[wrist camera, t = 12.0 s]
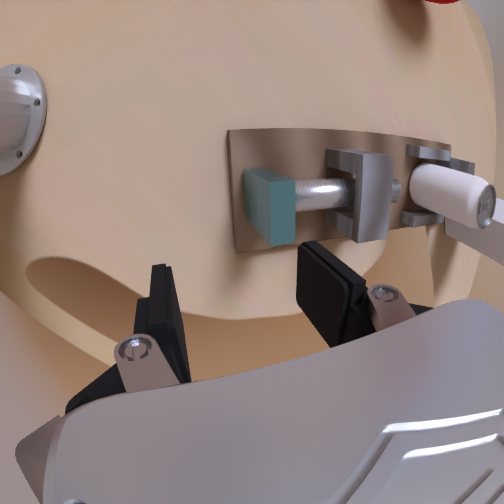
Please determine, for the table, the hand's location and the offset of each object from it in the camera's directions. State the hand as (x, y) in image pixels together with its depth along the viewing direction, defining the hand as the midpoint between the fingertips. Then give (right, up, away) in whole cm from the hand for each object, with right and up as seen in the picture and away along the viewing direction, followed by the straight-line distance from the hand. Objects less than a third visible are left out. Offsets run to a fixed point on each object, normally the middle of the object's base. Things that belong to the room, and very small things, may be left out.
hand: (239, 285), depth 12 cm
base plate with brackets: (+15, +10, +21) cm, 28 cm away
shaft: (+8, +8, +18) cm, 21 cm away
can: (+25, +11, +22) cm, 35 cm away
